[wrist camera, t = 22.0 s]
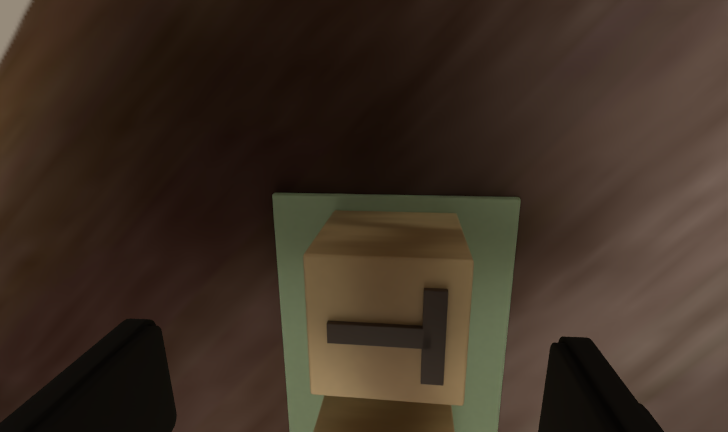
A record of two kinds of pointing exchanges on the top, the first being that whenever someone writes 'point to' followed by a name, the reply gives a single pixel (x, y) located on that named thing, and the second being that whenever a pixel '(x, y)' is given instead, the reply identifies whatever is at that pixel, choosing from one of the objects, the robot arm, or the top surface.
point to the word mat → (488, 303)
